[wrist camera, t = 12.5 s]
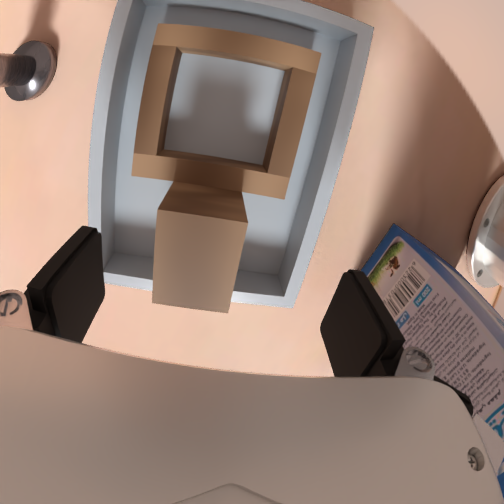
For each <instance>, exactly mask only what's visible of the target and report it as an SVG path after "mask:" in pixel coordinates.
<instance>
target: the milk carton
mask: <svg viewBox="0 0 504 504" xmlns="http://www.w3.org/2000/svg"><path fill="white" fill-rule="evenodd" d="M361 271H363V272H364V273H365V274H366V276H367V277H368V279H369V281H370V282H371V284H372V285H373V287H374V288H375V290H376V292H377V293H378V295H379V296H380V298H381V300H382V301H383V303H384V304H385V306H386V308H387V309H388V311H389V313H390V314H391V316H392V318H393V319H394V321H395V323H396V324H397V326H398V328H399V329H400V331H401V333H402V335H403V336H404V338H405V340H406V341H405V342H404V344H403V345H402V346H403V348H404V349H405V348H407V347H417V348H420V349H422V350H424V351H425V352H426V353H428V354H429V355H430V356H431V358H432V359H433V361H434V364H435V374H434V375H435V376H437V377H438V378H440V379H441V380H443V381H445V382H446V383H448V384H449V385H451V386H453V387H454V388H456V389H457V390H459V391H461V392H462V393H464V394H466V395H467V396H468V397H469V398H470V400H471V403H472V405H473V416H474V415H475V414H476V413H477V414H478V415H479V416H480V417H481V418H482V419H483V420H484V421H485V422H486V423H487V424H488V425H489V426H490V427H491V428H492V429H493V430H494V431H495V432H496V433H497V434H498V435H499V436H500V437H501V438H502V440H503V441H504V319H503V318H502V317H501V316H500V315H499V314H498V313H497V312H496V311H495V309H494V308H493V307H492V306H491V305H490V304H489V303H488V302H487V301H486V300H485V299H484V297H483V296H482V295H481V294H480V293H479V292H478V291H477V290H476V289H475V288H474V287H473V286H472V285H471V284H470V283H469V282H468V281H467V280H466V279H465V278H464V277H463V276H462V275H461V274H460V273H459V272H458V271H457V270H456V269H454V268H453V267H452V266H451V265H449V264H448V263H447V262H446V261H444V260H443V259H442V258H441V257H439V256H438V255H437V254H435V253H434V252H433V251H431V250H430V249H429V248H427V247H426V246H425V245H423V244H422V243H421V242H419V241H418V240H417V239H415V238H414V237H412V236H411V235H410V234H408V233H407V232H405V231H404V230H403V229H401V228H400V227H398V226H397V225H395V224H393V225H392V227H391V228H390V230H389V231H388V233H387V234H386V235H385V237H384V238H383V240H382V241H381V243H380V244H379V246H378V247H377V248H376V250H375V251H374V253H373V254H372V256H371V257H370V258H369V260H368V261H367V262H366V264H365V265H364V267H363V268H362V269H361ZM496 476H497V479H498V482H499V485H500V488H501V491H502V495H503V498H504V458H503V460H502V463H501V465H500V467H499V469H498V471H497V473H496Z"/></svg>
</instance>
